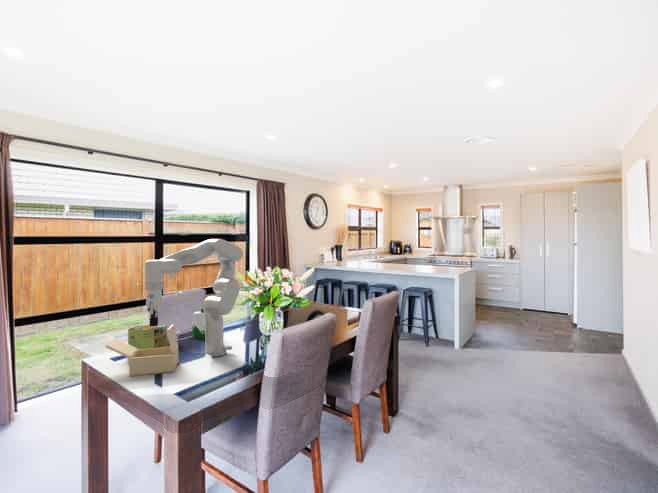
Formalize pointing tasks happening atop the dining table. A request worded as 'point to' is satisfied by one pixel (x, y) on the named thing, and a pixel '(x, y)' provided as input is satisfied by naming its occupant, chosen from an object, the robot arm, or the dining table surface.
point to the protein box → (148, 336)
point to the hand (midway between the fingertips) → (153, 325)
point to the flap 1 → (121, 348)
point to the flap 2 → (172, 338)
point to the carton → (153, 361)
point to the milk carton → (199, 324)
